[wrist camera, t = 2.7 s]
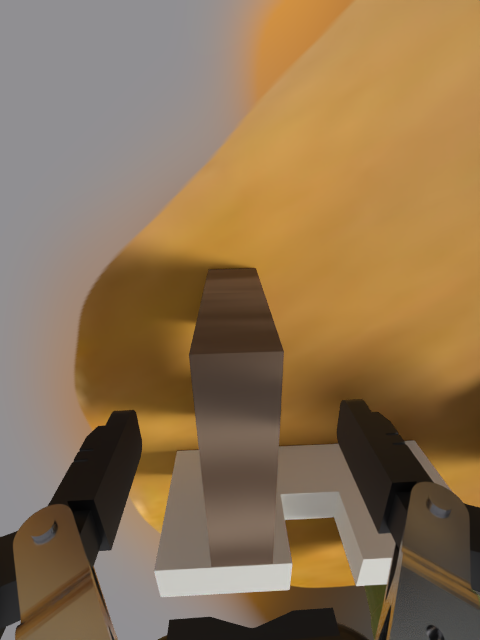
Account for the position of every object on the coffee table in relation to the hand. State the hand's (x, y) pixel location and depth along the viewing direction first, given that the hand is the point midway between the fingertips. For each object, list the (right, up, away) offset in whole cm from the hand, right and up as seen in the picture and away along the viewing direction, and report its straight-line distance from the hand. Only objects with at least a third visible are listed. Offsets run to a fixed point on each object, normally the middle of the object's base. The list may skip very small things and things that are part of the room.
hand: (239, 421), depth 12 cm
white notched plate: (+6, -10, +19) cm, 22 cm away
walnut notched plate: (0, +1, +13) cm, 13 cm away
